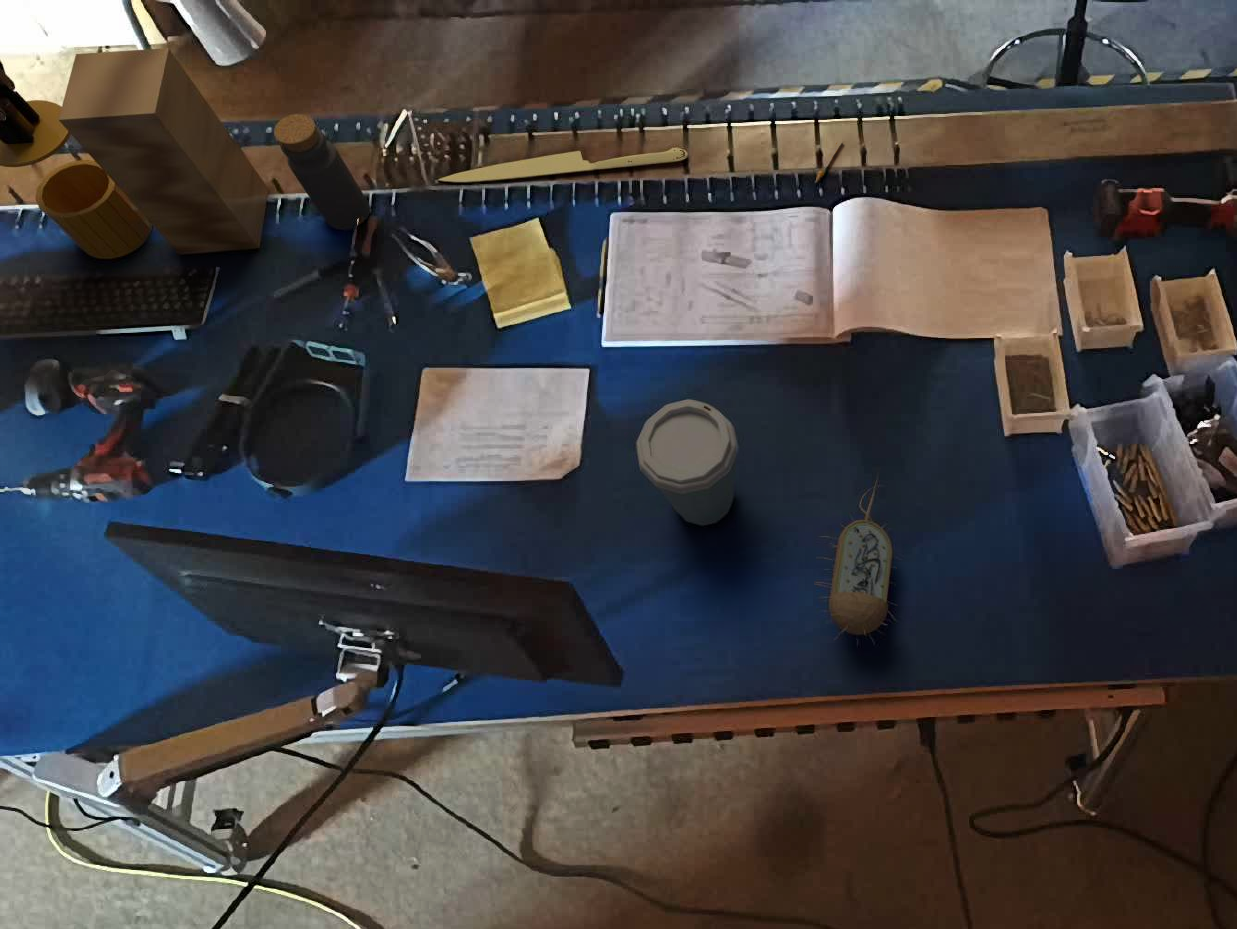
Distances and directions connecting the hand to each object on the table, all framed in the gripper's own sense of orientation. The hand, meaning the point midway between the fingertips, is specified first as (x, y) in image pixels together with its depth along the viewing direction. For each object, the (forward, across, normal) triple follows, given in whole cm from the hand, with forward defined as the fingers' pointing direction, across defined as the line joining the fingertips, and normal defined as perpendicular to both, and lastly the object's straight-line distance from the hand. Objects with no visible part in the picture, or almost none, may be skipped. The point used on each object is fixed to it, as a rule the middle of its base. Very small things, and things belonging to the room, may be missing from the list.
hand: (22, 130), depth 121 cm
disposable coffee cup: (+18, +47, +72) cm, 88 cm away
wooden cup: (+17, 0, 0) cm, 17 cm away
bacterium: (+18, +58, +90) cm, 109 cm away
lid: (+1, 0, 0) cm, 1 cm away
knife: (+18, -5, +57) cm, 60 cm away
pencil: (+18, -2, +92) cm, 94 cm away
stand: (+18, 0, +13) cm, 22 cm away
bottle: (+18, 0, +29) cm, 34 cm away
